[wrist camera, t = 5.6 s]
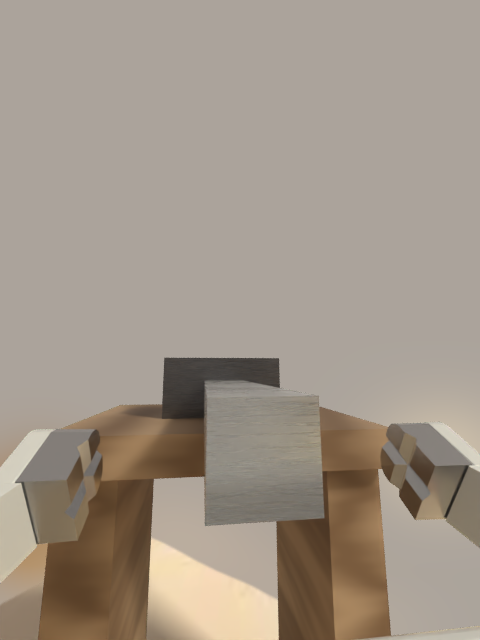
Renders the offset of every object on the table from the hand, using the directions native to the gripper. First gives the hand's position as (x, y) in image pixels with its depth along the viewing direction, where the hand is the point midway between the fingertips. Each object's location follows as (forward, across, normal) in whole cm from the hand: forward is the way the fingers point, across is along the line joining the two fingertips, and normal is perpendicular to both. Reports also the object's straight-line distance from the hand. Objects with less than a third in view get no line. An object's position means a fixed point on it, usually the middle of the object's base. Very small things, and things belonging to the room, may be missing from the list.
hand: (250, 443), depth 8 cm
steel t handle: (+5, 0, +4) cm, 7 cm away
